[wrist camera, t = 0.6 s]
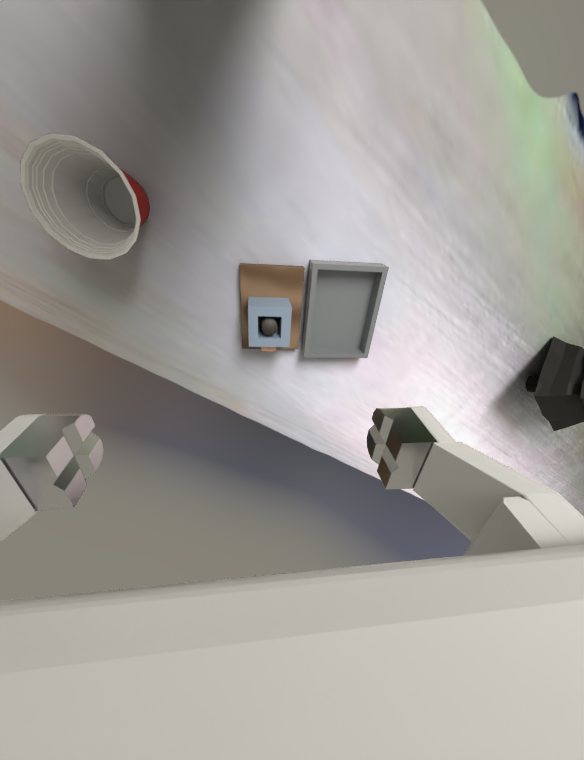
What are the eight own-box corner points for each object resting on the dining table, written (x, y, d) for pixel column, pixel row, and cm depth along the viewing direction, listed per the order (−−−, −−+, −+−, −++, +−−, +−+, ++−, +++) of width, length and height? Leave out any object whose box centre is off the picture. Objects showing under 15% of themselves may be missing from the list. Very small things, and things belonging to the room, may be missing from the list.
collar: (248, 296, 45) (248, 306, 41) (288, 298, 46) (292, 307, 42) (249, 342, 49) (248, 355, 45) (285, 342, 50) (288, 355, 46)
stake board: (240, 263, 44) (238, 272, 38) (303, 266, 45) (309, 275, 40) (242, 344, 51) (241, 361, 46) (296, 345, 52) (301, 362, 47)
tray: (309, 259, 45) (313, 263, 42) (381, 263, 46) (388, 267, 44) (301, 350, 53) (303, 357, 51) (362, 350, 55) (367, 357, 52)
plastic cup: (69, 211, 38) (3, 214, 28) (98, 128, 34) (33, 98, 24) (148, 262, 42) (116, 281, 32) (182, 195, 38) (157, 193, 28)
